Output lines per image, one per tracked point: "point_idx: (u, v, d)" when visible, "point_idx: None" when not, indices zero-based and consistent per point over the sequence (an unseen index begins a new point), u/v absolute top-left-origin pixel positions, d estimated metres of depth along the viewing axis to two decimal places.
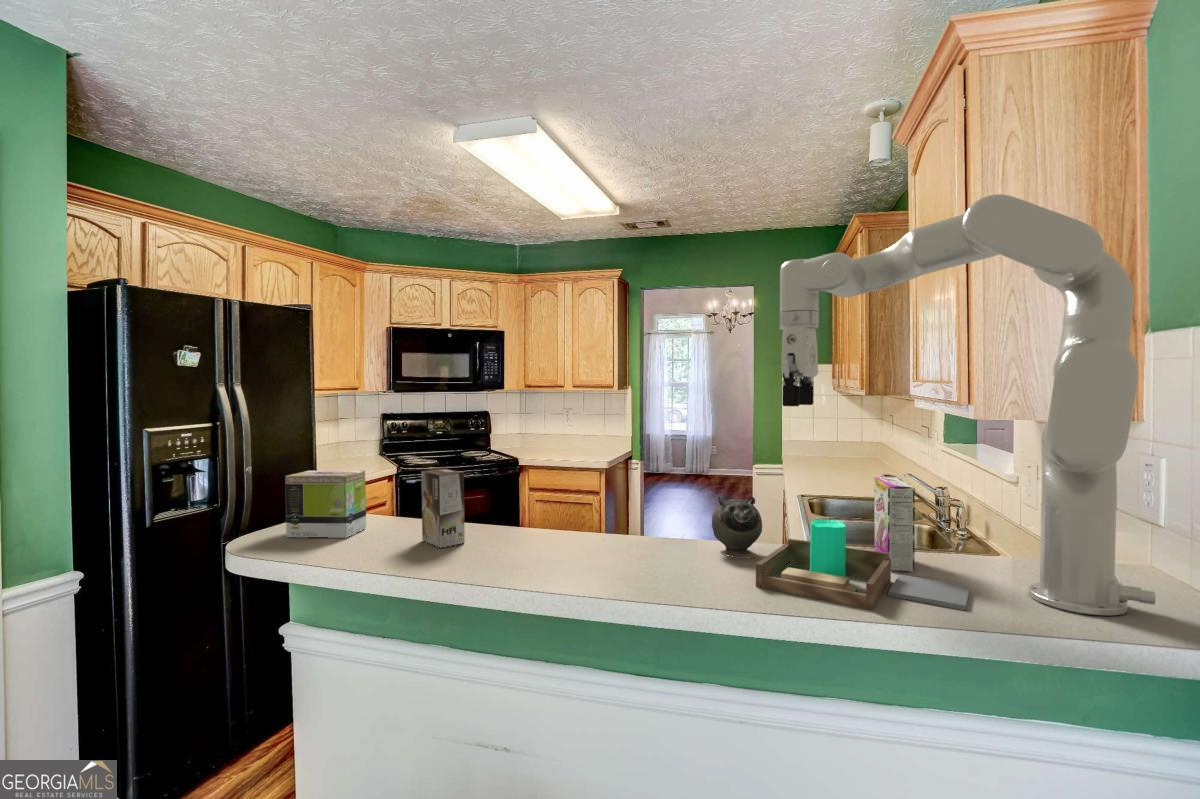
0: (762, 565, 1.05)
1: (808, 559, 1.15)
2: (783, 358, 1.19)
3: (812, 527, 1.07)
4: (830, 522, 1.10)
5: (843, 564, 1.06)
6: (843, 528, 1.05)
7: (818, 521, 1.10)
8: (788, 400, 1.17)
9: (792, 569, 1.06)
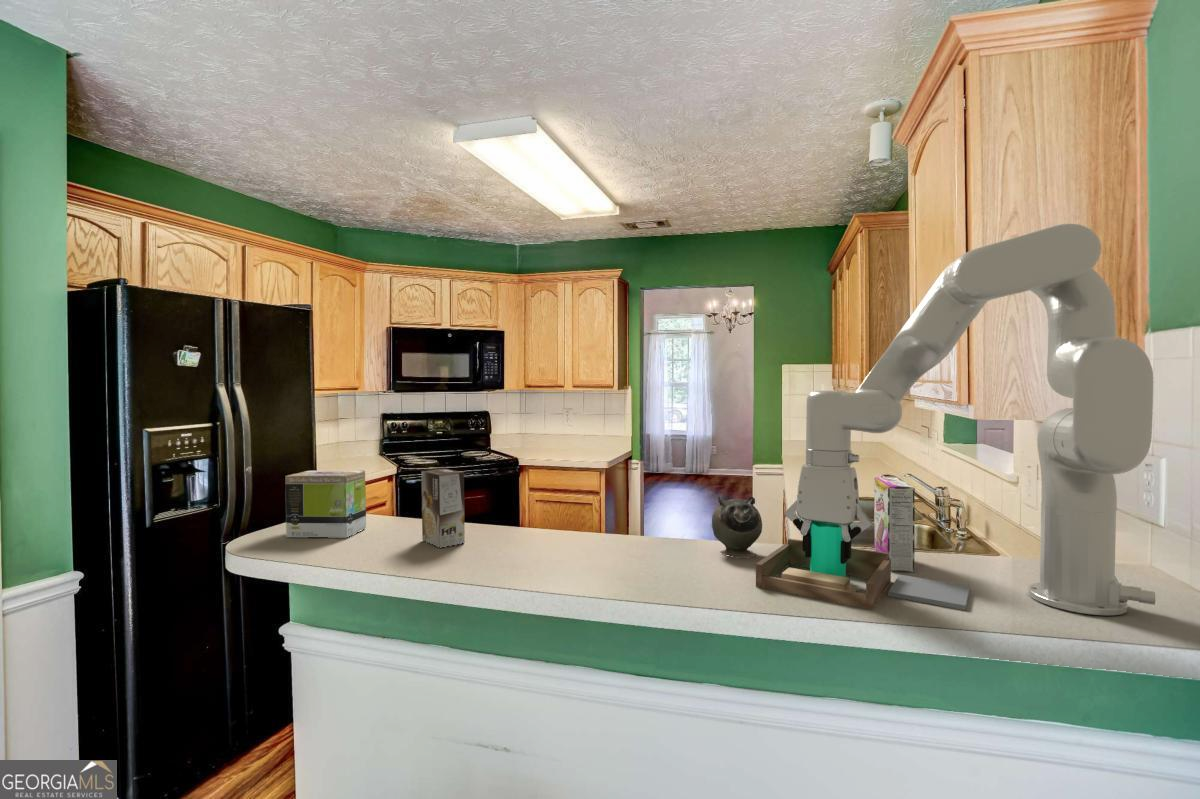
0: (762, 565, 1.05)
1: (808, 559, 1.15)
2: (854, 505, 1.04)
3: (813, 527, 1.07)
4: None
5: (844, 564, 1.06)
6: None
7: None
8: (849, 556, 1.05)
9: (793, 569, 1.06)
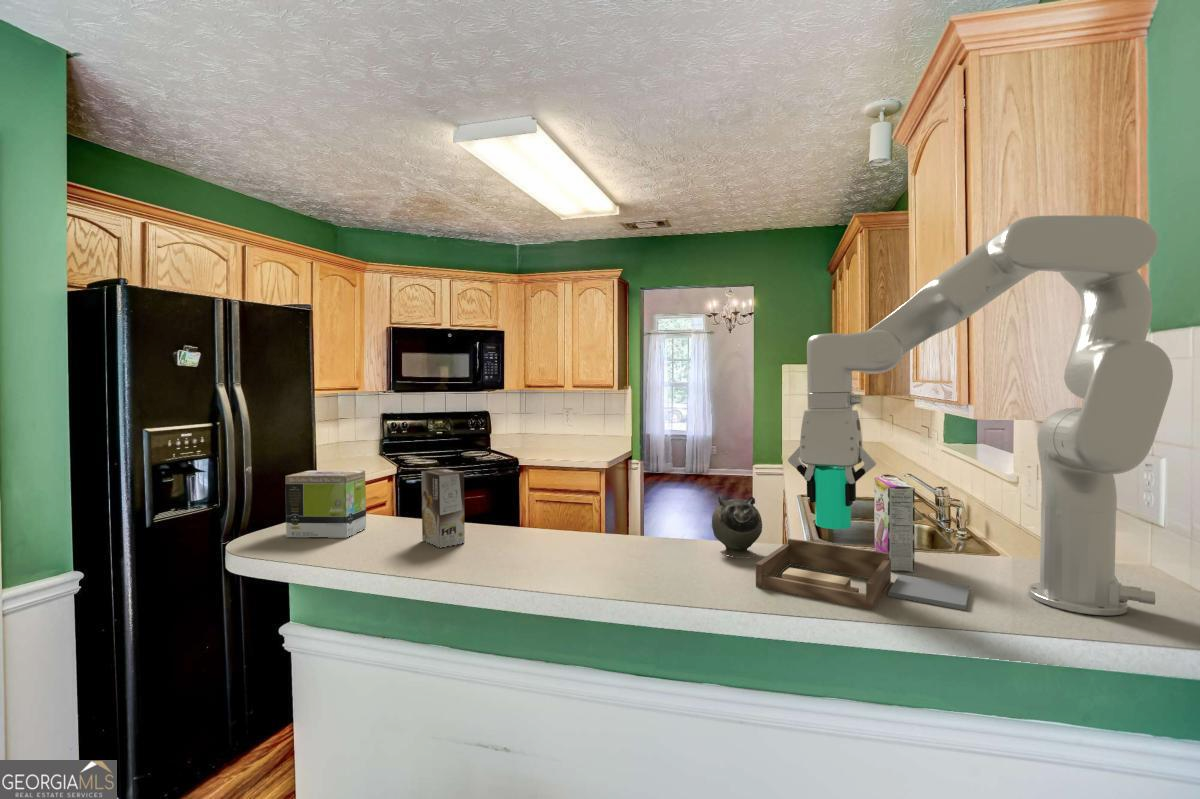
0: (762, 565, 1.05)
1: (808, 559, 1.15)
2: (857, 447, 1.03)
3: (816, 471, 1.07)
4: (834, 467, 1.09)
5: (849, 507, 1.05)
6: None
7: (822, 466, 1.09)
8: (854, 499, 1.05)
9: (793, 569, 1.06)
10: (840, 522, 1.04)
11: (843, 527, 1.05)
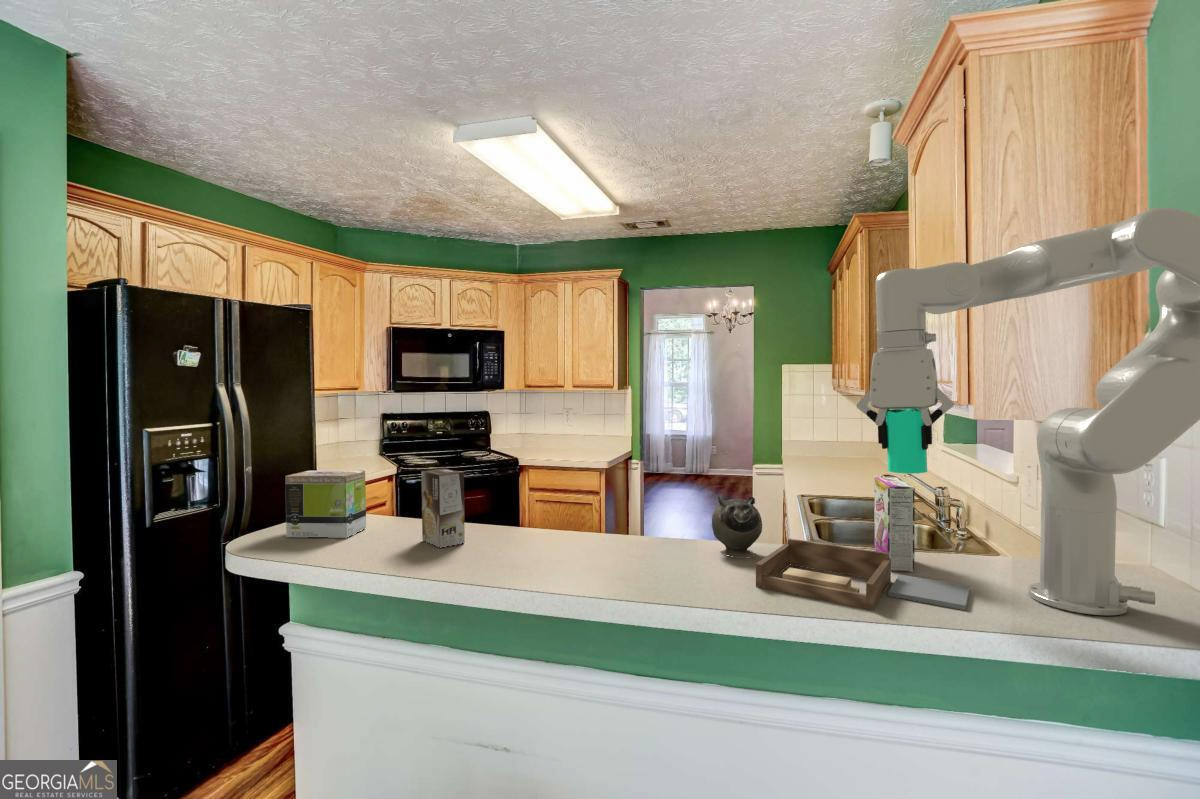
0: (762, 565, 1.05)
1: (808, 559, 1.15)
2: (934, 386, 0.98)
3: (889, 414, 1.02)
4: (906, 411, 1.04)
5: (925, 451, 1.00)
6: None
7: (893, 411, 1.04)
8: (931, 442, 1.00)
9: (794, 569, 1.06)
10: (917, 465, 0.99)
11: (920, 471, 0.99)
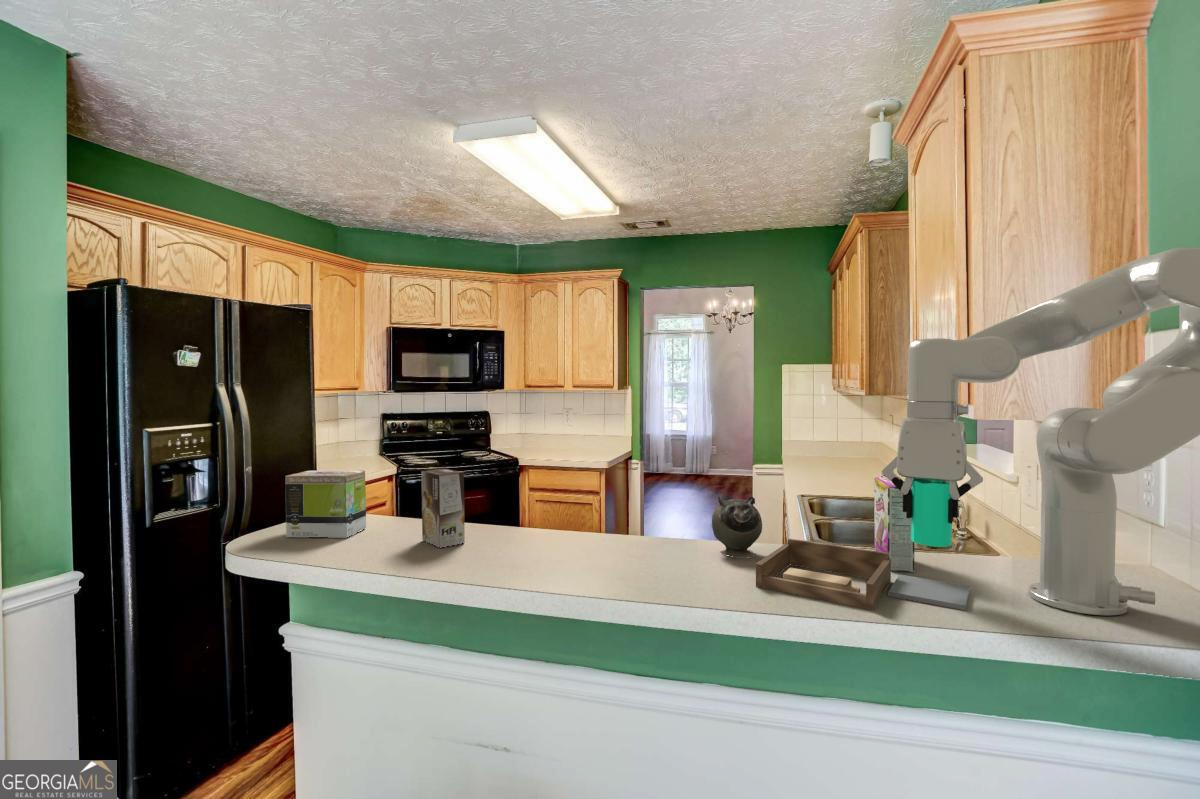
0: (762, 565, 1.05)
1: (808, 559, 1.15)
2: (964, 460, 0.97)
3: (916, 484, 1.00)
4: (933, 480, 1.03)
5: (950, 524, 0.99)
6: None
7: (919, 479, 1.03)
8: (957, 515, 0.98)
9: (794, 569, 1.06)
10: (942, 539, 0.98)
11: (945, 545, 0.98)
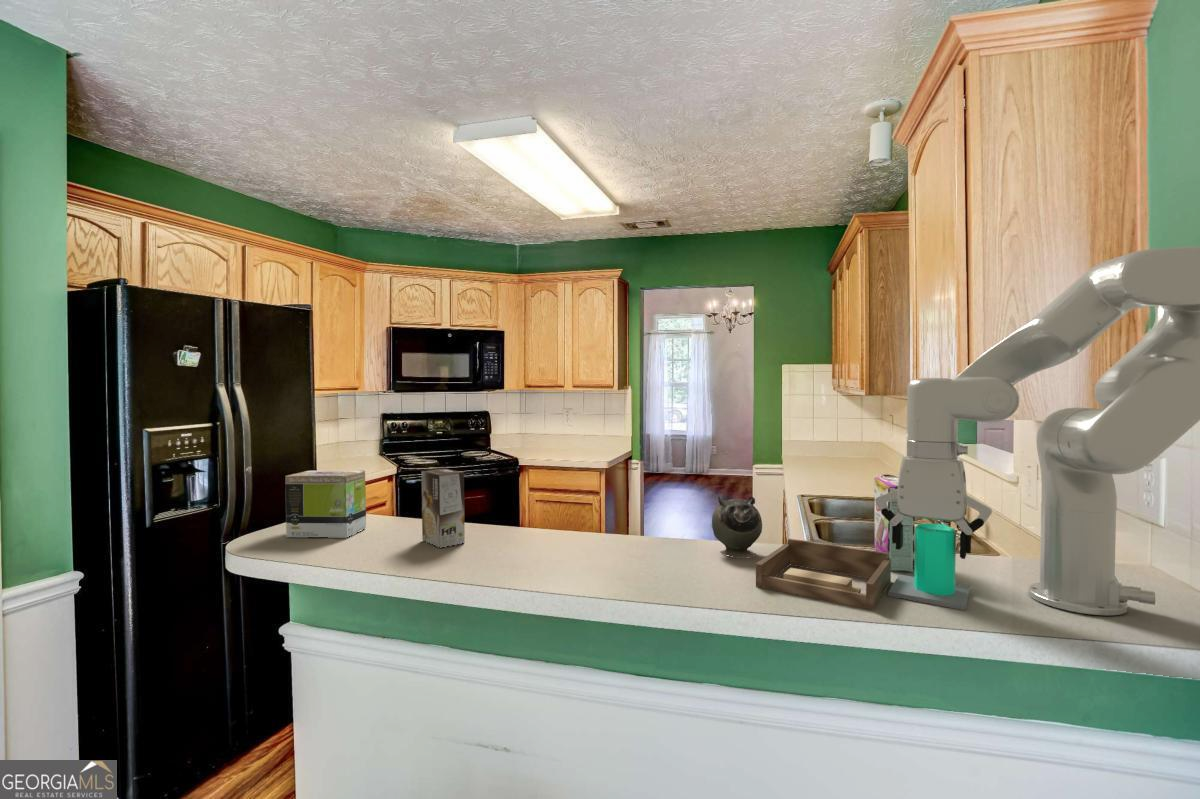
0: (762, 565, 1.05)
1: (808, 559, 1.15)
2: (964, 500, 0.97)
3: (918, 532, 1.00)
4: (936, 526, 1.03)
5: (954, 572, 0.99)
6: (954, 533, 0.98)
7: (923, 525, 1.03)
8: (970, 551, 0.98)
9: (795, 569, 1.06)
10: (945, 587, 0.98)
11: (948, 593, 0.98)
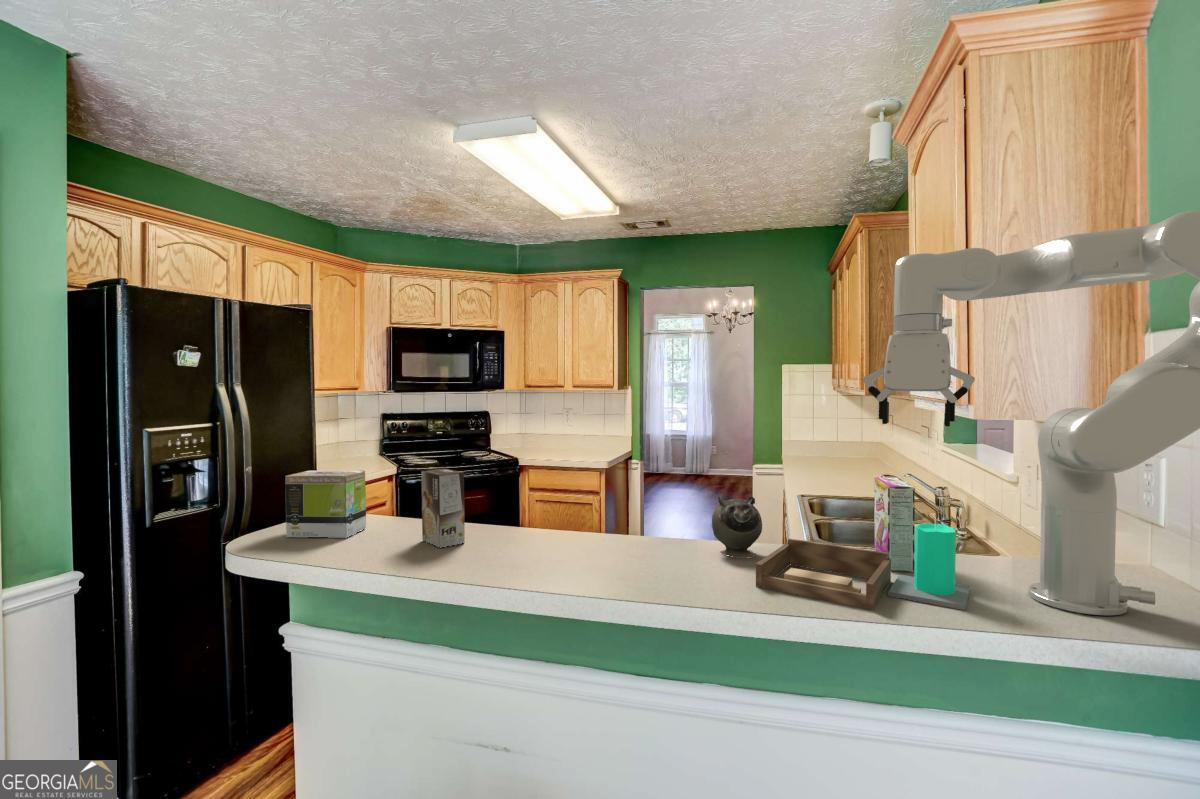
0: (762, 565, 1.05)
1: (808, 559, 1.15)
2: (948, 370, 1.00)
3: (918, 532, 1.00)
4: (936, 526, 1.03)
5: (954, 572, 0.99)
6: (954, 533, 0.98)
7: (922, 525, 1.03)
8: (954, 419, 1.01)
9: (795, 570, 1.06)
10: (945, 587, 0.98)
11: (948, 593, 0.98)
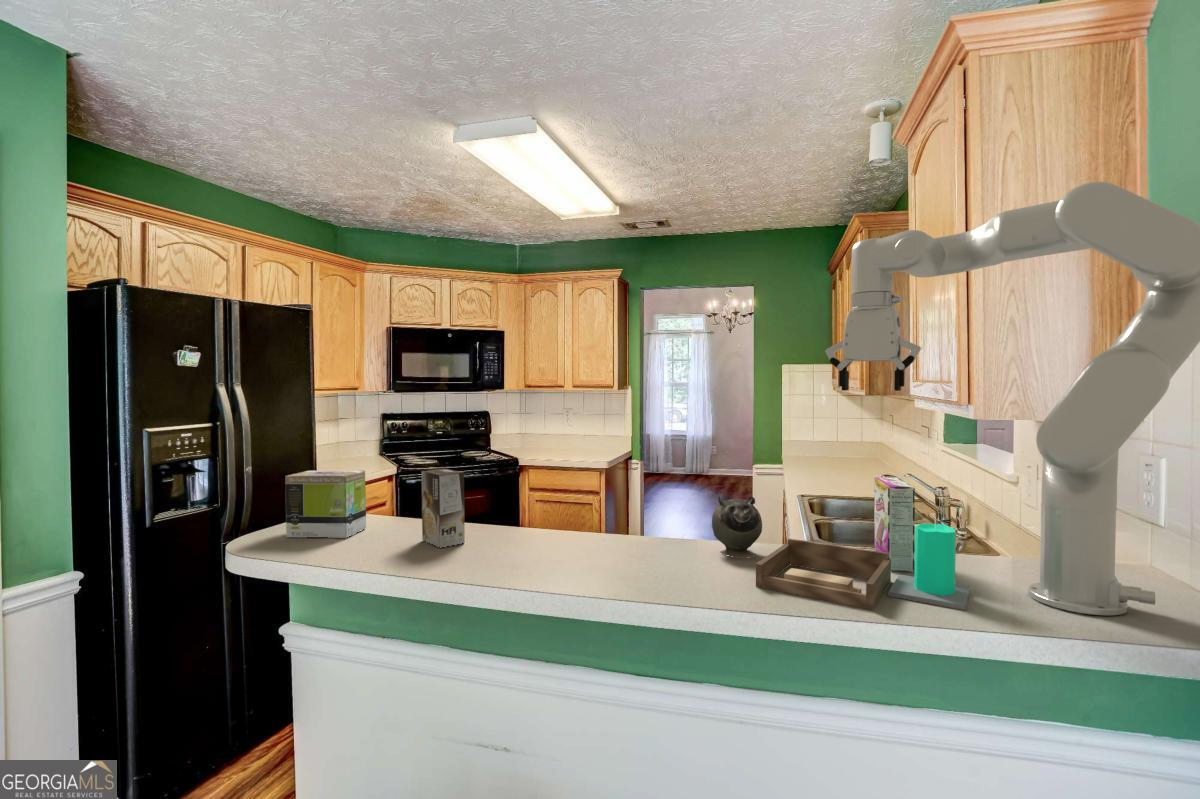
0: (762, 565, 1.05)
1: (808, 559, 1.15)
2: (897, 341, 1.14)
3: (918, 532, 1.00)
4: (936, 526, 1.03)
5: (954, 572, 0.99)
6: (954, 533, 0.98)
7: (923, 525, 1.03)
8: (903, 384, 1.14)
9: (795, 570, 1.06)
10: (945, 587, 0.98)
11: (948, 593, 0.98)
